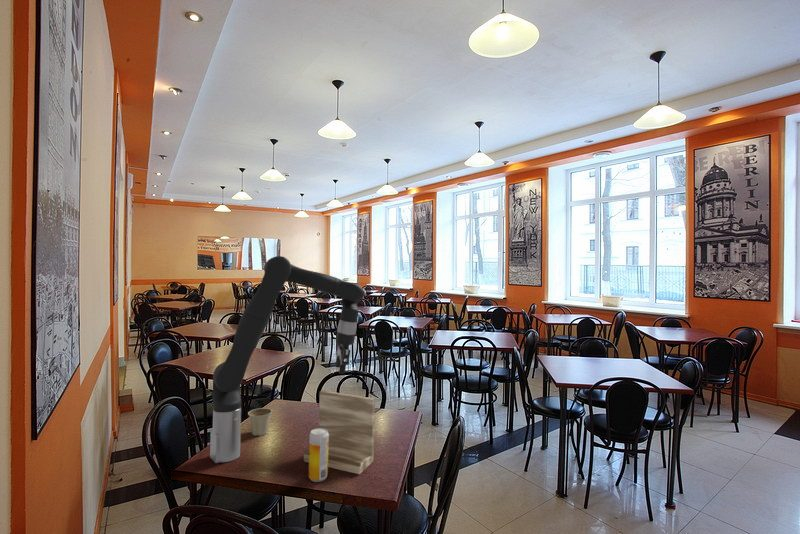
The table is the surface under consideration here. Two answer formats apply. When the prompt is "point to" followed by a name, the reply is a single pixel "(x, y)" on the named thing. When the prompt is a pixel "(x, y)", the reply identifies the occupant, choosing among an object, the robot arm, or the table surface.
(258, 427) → the flower pot
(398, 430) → the table surface
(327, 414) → the wall board
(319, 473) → the beer can
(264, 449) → the table surface
